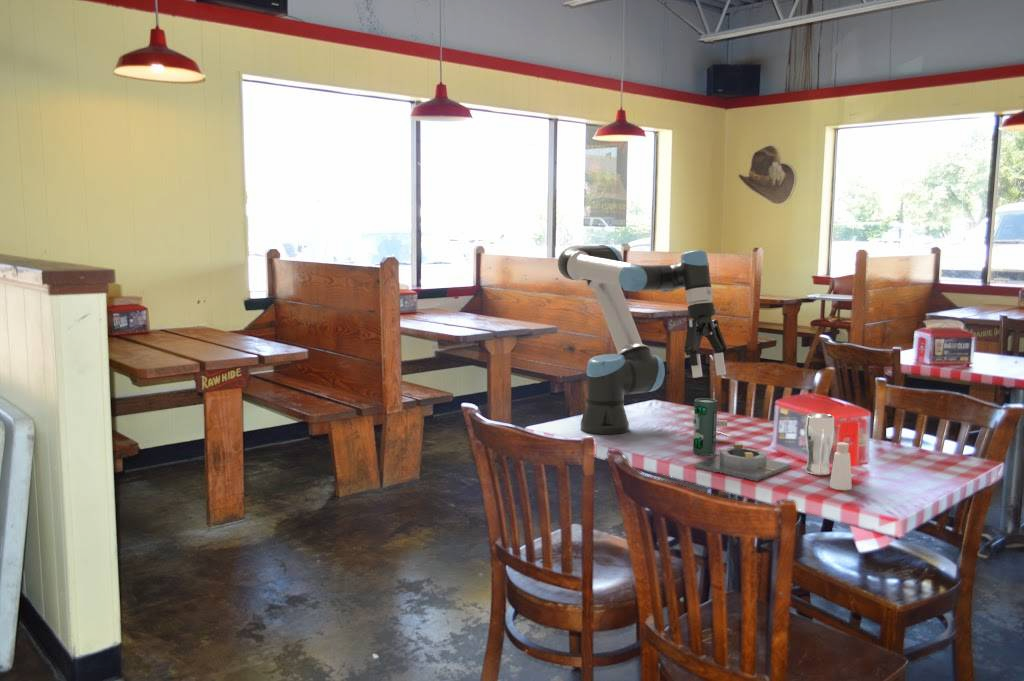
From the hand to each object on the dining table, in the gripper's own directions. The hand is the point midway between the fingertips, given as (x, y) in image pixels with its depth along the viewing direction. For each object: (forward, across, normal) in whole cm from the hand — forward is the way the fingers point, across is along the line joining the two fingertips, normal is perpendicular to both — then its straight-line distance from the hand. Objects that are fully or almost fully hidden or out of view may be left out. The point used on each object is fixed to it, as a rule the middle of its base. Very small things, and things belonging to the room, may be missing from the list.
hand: (709, 376), depth 249 cm
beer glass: (+28, -4, -30) cm, 41 cm away
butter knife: (+16, +21, +18) cm, 32 cm away
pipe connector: (+19, +10, +8) cm, 23 cm away
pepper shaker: (+31, -14, -39) cm, 52 cm away
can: (+21, -6, +2) cm, 22 cm away
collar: (+25, -14, -14) cm, 32 cm away
